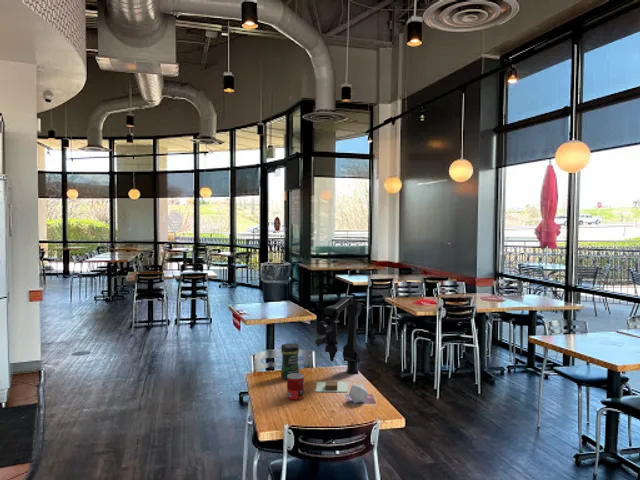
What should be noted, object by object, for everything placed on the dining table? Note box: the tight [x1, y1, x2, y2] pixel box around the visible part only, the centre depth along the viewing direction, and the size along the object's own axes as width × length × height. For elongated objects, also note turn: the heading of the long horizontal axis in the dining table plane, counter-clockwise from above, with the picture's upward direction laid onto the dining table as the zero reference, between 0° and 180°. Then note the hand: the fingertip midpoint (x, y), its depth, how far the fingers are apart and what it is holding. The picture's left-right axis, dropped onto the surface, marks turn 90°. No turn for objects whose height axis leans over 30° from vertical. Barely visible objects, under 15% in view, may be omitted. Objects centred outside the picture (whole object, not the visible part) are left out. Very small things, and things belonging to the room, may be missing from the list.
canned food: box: [286, 372, 305, 402], centre depth 225 cm, size 8×8×11 cm
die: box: [348, 383, 369, 404], centre depth 220 cm, size 8×9×10 cm
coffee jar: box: [280, 342, 300, 380], centre depth 256 cm, size 10×8×19 cm
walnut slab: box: [325, 380, 338, 390], centre depth 237 cm, size 2×6×6 cm
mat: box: [314, 381, 349, 393], centre depth 240 cm, size 14×16×1 cm
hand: (331, 361), depth 244 cm, fingers closed
